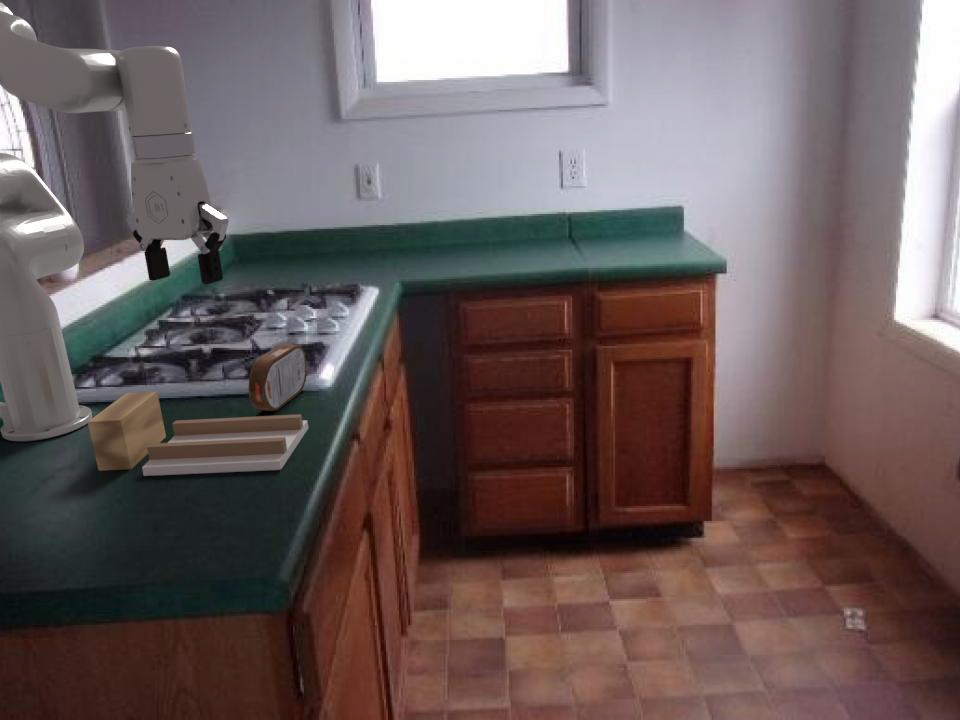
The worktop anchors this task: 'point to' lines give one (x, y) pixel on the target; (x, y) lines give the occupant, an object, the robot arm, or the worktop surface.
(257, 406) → the tin
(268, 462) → the cradle
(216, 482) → the worktop surface
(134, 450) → the oak block
